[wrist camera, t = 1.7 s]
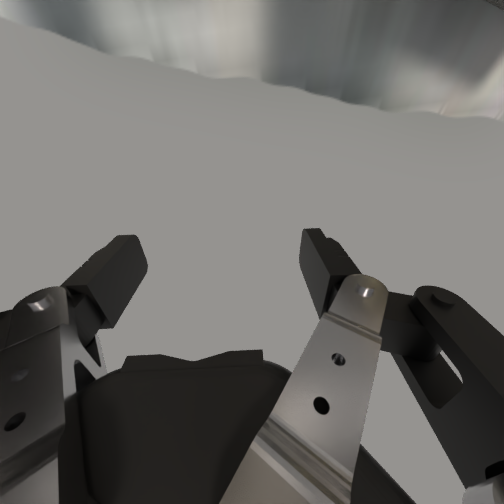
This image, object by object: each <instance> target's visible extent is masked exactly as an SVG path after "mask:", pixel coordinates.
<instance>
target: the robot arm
mask: <svg viewBox="0 0 504 504" xmlns="http://www.w3.org/2000/svg"><path fill="white" fill-rule="evenodd" d="M299 263H300V268H301V271H302V273H303V276H304V279H305V281H306V284H307V287H308V289H309V292H310V294H311V298H312V300H313V303H314V306H315V308H316V311H317V313H318V316H319V319H320V321H319V323H318V325H317V327H316V329H315V330H314V332H313V335H312V336H311V338H310V340H309V342H308V344H307V346H306V348H305V350H304V352H303V353H302V355H301V357H300V359H299V361H298V363H297V365H296V367H295V368H294V370H293V372H290V371H289V370H287V369H286V368H284V367H282V366H280V365H278V364H275V363H273V362H270V361H265V360H263V351H262V350H243V351H228V352H225V353H222V354H218V355H215V356H211V357H208V358H205V359H201V360H198V361H187V360H183V359H179V358H174V357H170V356H166V355H161V354H158V355H138V356H127V357H126V359H125V362H124V364H123V366H122V368H121V369H118V370H115V371H113V372H110V373H108V374H107V370H106V365H105V361H104V357H103V353H102V348H101V344H100V340H99V337H98V336H97V334H96V333H97V331H98V330H99V329H107V328H114V326H115V324H116V323H117V321H118V320H119V318H120V316H121V315H122V313H123V311H124V310H125V308H126V306H127V305H128V303H129V301H130V300H131V298H132V296H133V295H134V293H135V291H136V290H137V288H138V286H139V284H140V283H141V281H142V280H143V278H144V276H145V275H146V273H147V268H148V264H147V260H146V257H145V255H144V252H143V249H142V247H141V244H140V241H139V239H138V237H137V236H136V235H118V236H116V237H115V238H114V239H113V240H112V241H111V242H110V243H109V244H108V245H107V246H106V247H104V248H102V249H100V250H99V251H97V252H95V253H94V254H93V255H92V256H91V257H90V258H89V259H88V261H86V262H85V263H84V264H83V265H82V267H80V268H79V269H78V270H76V271H75V272H74V273H73V274H72V275H71V276H70V277H69V278H68V279H67V280H66V281H65V282H64V283H63V284H62V285H61V286H59V287H58V286H56V287H48V288H45V289H41V290H39V291H36V292H34V293H32V294H30V295H28V296H26V297H25V298H23V299H22V300H20V301H19V302H18V303H17V304H16V305H15V306H14V308H13V309H12V310H8V311H4V312H0V504H416V503H415V502H414V501H413V500H412V499H411V498H410V496H409V495H408V494H407V493H406V492H405V491H404V490H403V489H402V488H401V487H400V486H399V485H398V484H397V483H396V481H395V480H394V479H393V478H392V477H391V476H390V475H389V474H388V473H387V472H386V471H385V470H384V469H383V467H382V466H380V464H379V463H378V462H377V461H376V460H375V459H374V458H373V457H372V456H371V455H370V454H369V452H367V450H366V449H365V448H364V447H363V446H362V445H361V444H360V441H361V437H362V432H363V427H364V423H365V418H366V413H367V409H368V404H369V399H370V394H371V390H372V385H373V381H374V376H375V371H376V366H377V362H378V357H379V352H380V350H382V351H386V352H390V353H391V355H392V356H393V358H394V360H395V362H396V364H397V365H398V367H399V369H400V371H401V372H402V374H403V376H404V378H405V380H406V382H407V384H408V385H409V387H410V389H411V391H412V393H413V394H414V396H415V398H416V400H417V402H418V403H419V405H420V407H421V409H422V411H423V412H424V414H425V416H426V418H427V420H428V422H429V423H430V425H431V427H432V429H433V431H434V432H435V434H436V436H437V438H438V440H439V441H440V443H441V445H442V447H443V449H444V451H445V452H446V454H447V456H448V458H449V459H450V461H451V463H452V465H453V467H454V469H455V470H456V472H457V474H458V476H459V478H460V480H461V481H462V483H463V485H464V487H465V489H466V490H465V493H464V495H463V504H504V336H503V335H502V334H501V333H500V332H499V331H498V330H497V329H495V328H494V327H493V326H492V325H491V324H490V323H489V322H488V321H487V320H486V319H484V318H483V317H482V316H481V315H480V314H479V313H478V312H477V311H476V310H475V309H473V308H472V307H471V306H470V305H469V304H468V303H467V302H466V301H465V300H463V299H462V298H461V297H459V296H458V295H456V294H454V293H452V292H450V291H448V290H446V289H443V288H440V287H435V286H421V287H419V288H417V290H416V291H415V293H414V295H413V296H411V295H405V294H400V293H394V292H389V291H388V290H387V288H386V286H385V285H384V284H383V283H381V282H380V281H379V280H377V279H375V278H373V277H370V276H367V275H363V274H362V273H361V272H360V271H359V269H358V268H357V267H356V265H355V264H354V263H353V261H352V260H351V258H350V257H348V254H347V253H346V252H345V251H344V249H343V248H342V246H341V245H340V244H339V243H338V242H337V241H335V240H333V239H332V238H326V237H325V235H324V234H323V232H322V231H321V229H320V228H311V229H303V232H302V239H301V246H300V254H299ZM441 350H443V351H444V353H445V354H446V355H447V356H448V358H449V359H450V360H451V362H452V363H453V364H454V365H455V367H456V368H457V369H458V371H459V373H460V374H461V377H462V380H463V383H462V382H461V381H460V379H459V378H458V377H457V375H456V374H455V373H454V371H453V370H452V369H451V367H450V366H449V365H448V364H447V362H446V361H445V359H444V358H443V357H442V355H441V354H440V352H441Z"/></svg>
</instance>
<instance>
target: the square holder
mask: <svg viewBox="0 0 504 504" xmlns="http://www.w3.org/2000/svg"><path fill="white" fill-rule="evenodd" d="M486 1H488V2H490V3H492V4H493V5H495V6H497V7H499V8H501V9H502V10H504V0H486Z"/></svg>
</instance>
